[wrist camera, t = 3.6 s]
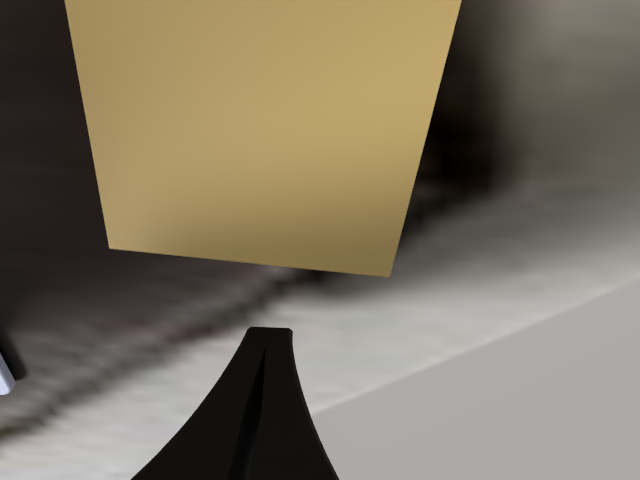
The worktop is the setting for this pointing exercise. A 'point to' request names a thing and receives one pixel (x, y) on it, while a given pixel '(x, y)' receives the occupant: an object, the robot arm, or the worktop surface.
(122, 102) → the block
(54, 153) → the worktop surface
